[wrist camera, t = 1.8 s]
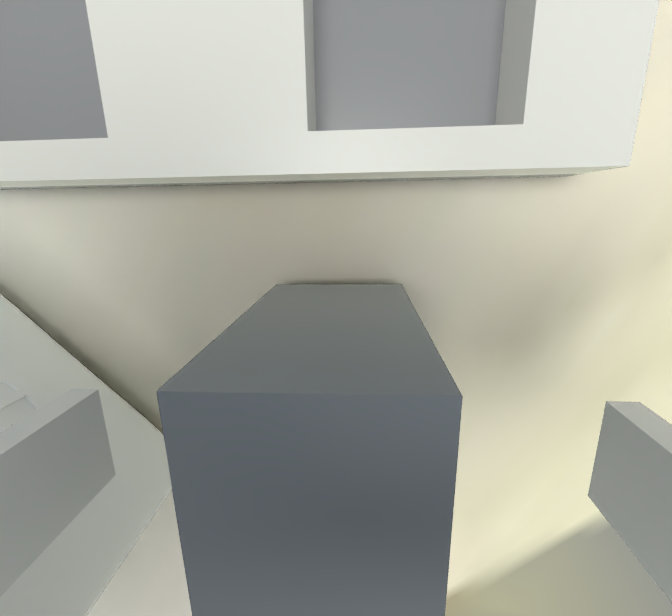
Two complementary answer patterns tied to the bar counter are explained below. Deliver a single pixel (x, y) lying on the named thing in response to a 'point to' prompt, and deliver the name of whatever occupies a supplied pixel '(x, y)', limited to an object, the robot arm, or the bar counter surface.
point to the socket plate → (316, 90)
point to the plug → (315, 458)
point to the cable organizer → (108, 505)
